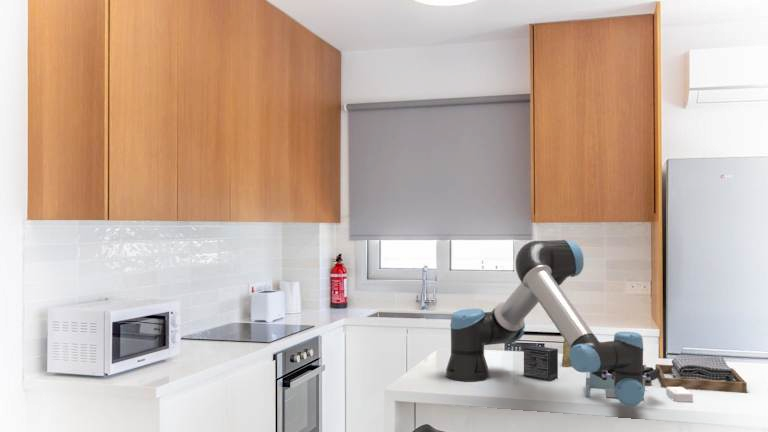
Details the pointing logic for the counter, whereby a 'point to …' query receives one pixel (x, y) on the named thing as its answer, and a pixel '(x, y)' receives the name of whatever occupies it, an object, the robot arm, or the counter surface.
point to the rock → (566, 355)
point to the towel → (702, 368)
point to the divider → (599, 383)
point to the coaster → (612, 393)
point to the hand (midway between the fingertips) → (623, 365)
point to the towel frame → (701, 382)
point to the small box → (541, 363)
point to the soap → (679, 394)
